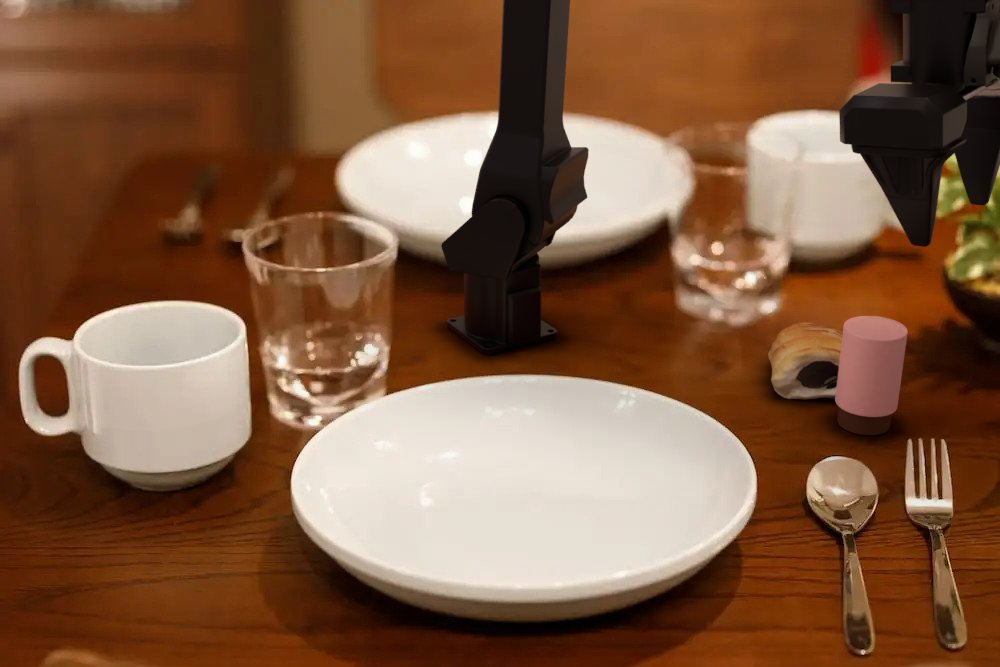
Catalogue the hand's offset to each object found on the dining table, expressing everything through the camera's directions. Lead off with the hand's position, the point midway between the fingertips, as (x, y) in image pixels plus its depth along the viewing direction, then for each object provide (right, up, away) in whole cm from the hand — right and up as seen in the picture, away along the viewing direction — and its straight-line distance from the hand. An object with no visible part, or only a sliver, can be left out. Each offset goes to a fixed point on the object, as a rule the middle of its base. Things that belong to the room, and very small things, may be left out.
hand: (951, 224), depth 83 cm
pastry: (-6, -10, +10) cm, 16 cm away
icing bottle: (-4, -13, +4) cm, 14 cm away
